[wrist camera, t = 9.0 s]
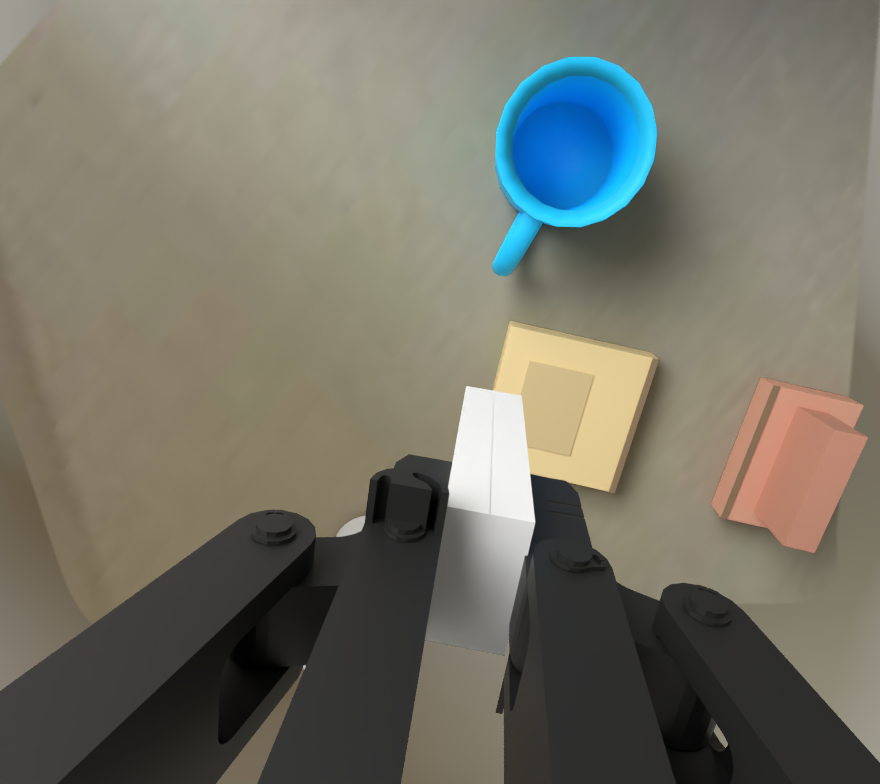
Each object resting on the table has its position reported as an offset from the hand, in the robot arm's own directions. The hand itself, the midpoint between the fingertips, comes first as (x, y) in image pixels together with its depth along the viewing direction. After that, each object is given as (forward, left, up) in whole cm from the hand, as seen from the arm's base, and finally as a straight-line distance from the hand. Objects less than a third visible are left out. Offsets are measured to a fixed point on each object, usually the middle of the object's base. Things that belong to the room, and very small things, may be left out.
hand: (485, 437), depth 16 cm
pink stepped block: (+6, +22, -26) cm, 35 cm away
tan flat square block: (+6, +7, -26) cm, 28 cm away
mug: (-8, +2, -27) cm, 28 cm away
